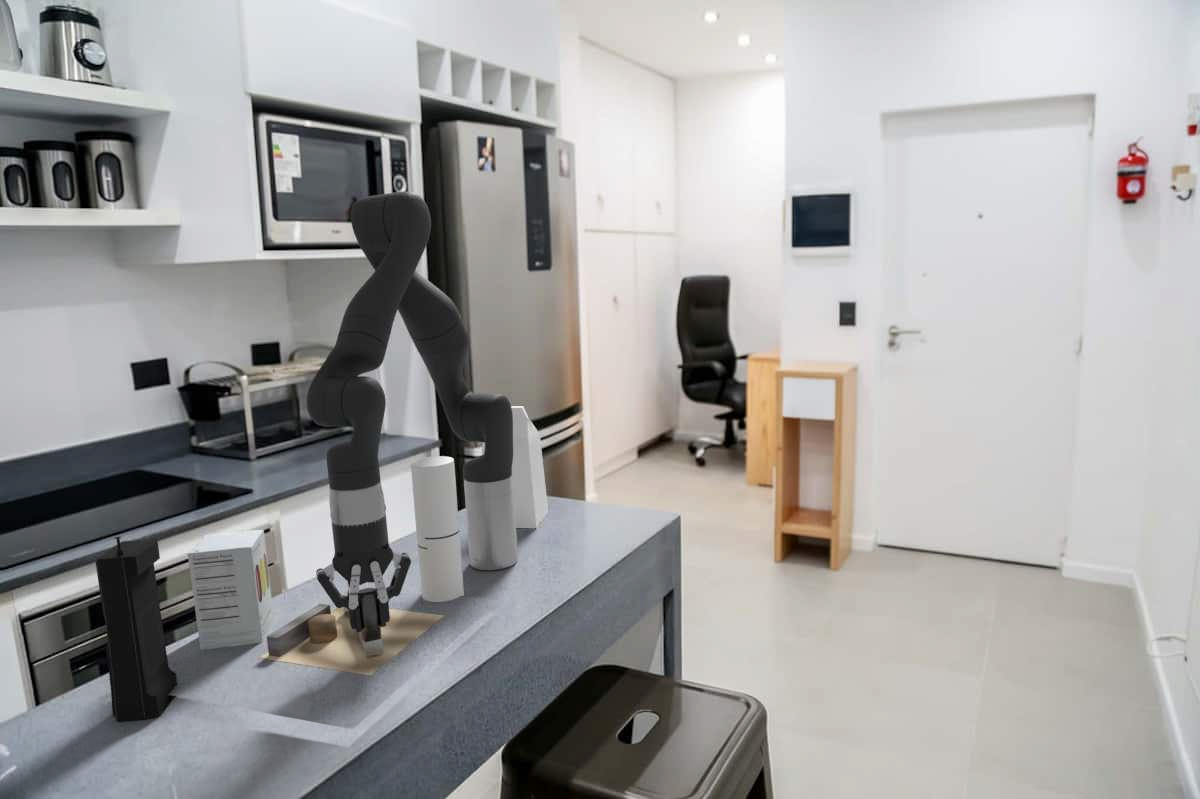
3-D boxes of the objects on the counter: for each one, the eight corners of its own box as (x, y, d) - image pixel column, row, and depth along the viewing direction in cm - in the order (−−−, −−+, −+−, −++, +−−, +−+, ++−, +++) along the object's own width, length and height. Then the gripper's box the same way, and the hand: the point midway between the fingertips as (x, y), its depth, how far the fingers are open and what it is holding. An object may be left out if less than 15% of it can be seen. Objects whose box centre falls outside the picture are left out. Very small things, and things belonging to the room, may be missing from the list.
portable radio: (138, 692, 116) (113, 522, 112) (182, 688, 117) (159, 519, 113) (110, 723, 109) (82, 541, 104) (158, 719, 109) (131, 538, 105)
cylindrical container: (455, 611, 139) (444, 466, 135) (415, 609, 140) (403, 466, 136) (470, 594, 146) (460, 456, 142) (432, 592, 147) (421, 456, 143)
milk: (483, 528, 182) (475, 412, 177) (498, 512, 193) (491, 402, 188) (536, 529, 180) (529, 411, 175) (548, 512, 191) (542, 402, 186)
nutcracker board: (344, 611, 141) (342, 586, 140) (445, 624, 134) (442, 598, 133) (260, 667, 122) (256, 638, 121) (371, 685, 115) (368, 655, 115)
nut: (322, 630, 130) (320, 612, 130) (342, 633, 129) (340, 615, 128) (304, 642, 126) (302, 623, 126) (325, 645, 125) (323, 626, 124)
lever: (342, 609, 137) (336, 556, 135) (364, 604, 138) (359, 552, 137) (362, 657, 120) (356, 597, 118) (387, 651, 121) (381, 592, 120)
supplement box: (264, 651, 127) (251, 547, 124) (200, 659, 125) (185, 553, 123) (276, 625, 136) (264, 527, 134) (216, 632, 135) (204, 533, 132)
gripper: (403, 500, 124) (413, 607, 127) (305, 515, 119) (318, 628, 122) (412, 513, 117) (423, 627, 120) (308, 530, 112) (322, 649, 115)
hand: (370, 626), depth 121 cm, fingers closed on lever, 3 cm apart
